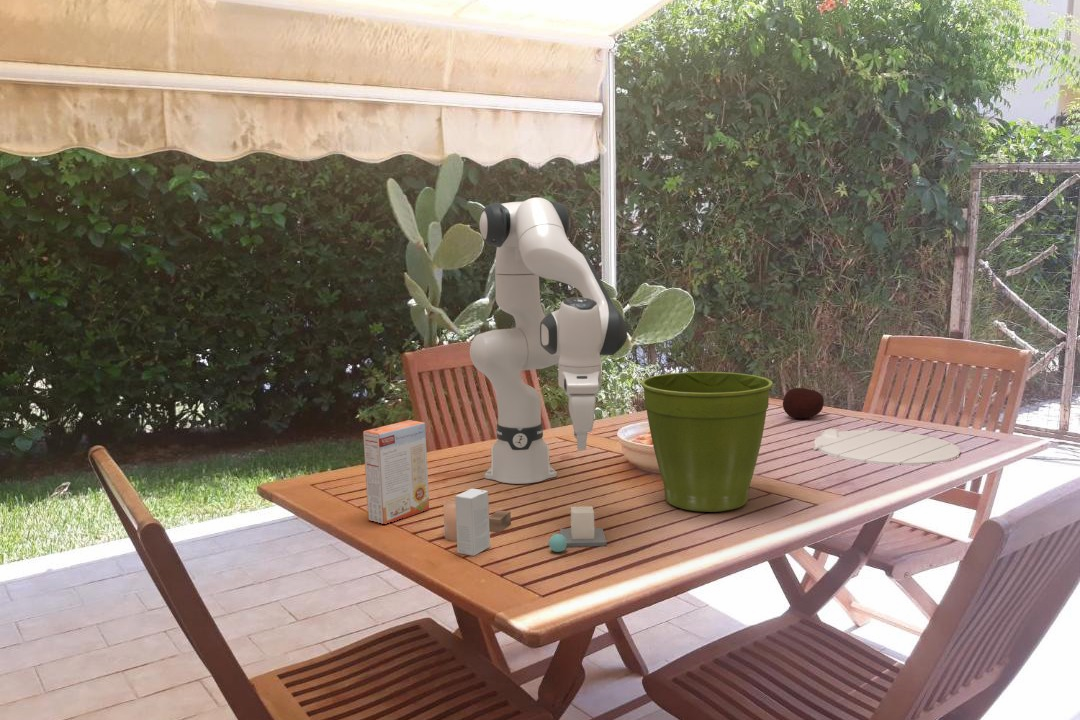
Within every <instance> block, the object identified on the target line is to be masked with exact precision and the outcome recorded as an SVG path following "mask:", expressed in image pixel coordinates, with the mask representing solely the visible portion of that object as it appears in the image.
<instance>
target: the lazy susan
mask: <svg viewBox="0 0 1080 720" xmlns="http://www.w3.org/2000/svg"><path fill="white" fill-rule="evenodd" d="M813 450H818V451H819V452H821V453H823V454H825V455H829V456H831V457H834V458H838V459H841V458H842V460H846V461H851V460H853V461H852V462H857V461H858V462H859V463H863V462H865V464H871V463H876V464H875V465H882V464H895V465H894V466H901V465H914V466H921V465H920V464H931V465H933V464H932V463H939V462H944V461H948V460H951V459H954V458H956V457H957V456H959V454H960V455H961V450H960V448H959V447H958V446H957V445H955V444H954V443H951V442H950V441H947V440H944V439H941V438H937V437H934V436H929V435H923V434H917V433H911V432H903V431H892V430H878V429H877V430H876V429H874V427H873V428H872V427H870V428H867V429H864V430H862V429H860V430H844V431H843V430H842V431H839V430H838V429H837V428H828V429H825V430H824V431H822V432H821V434H820V435H819V436H817V437H816V438H815V439H814V442H813ZM959 457H960V456H959ZM956 459H957V458H956ZM954 460H955V459H954ZM858 462H857V463H858ZM900 464H901V465H900ZM939 464H940V463H939Z"/></svg>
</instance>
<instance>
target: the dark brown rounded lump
mask: <svg viewBox="0 0 1080 720" xmlns="http://www.w3.org/2000/svg"><path fill="white" fill-rule="evenodd" d="M824 402H825V400H824V397H823V395H822V394H821V392H818V391H817V390H813V389H809V388H805V387H804V388H803V387H794V388H792V389H791V388H790V389H789V390H788V391H787V392H786V393H785V395H784V397H783V399H782V408H783V410H784V412H785V414H787V416H789V417H790V418H791V417H792V418H794V419H796V420H797V419H799V420H800V419H801V420H802V419H803V420H804V419H808V418H809V419H810V418H812V417H815V416H817V415H818V414H820V413H821V412H822V410H823V408H824V404H825V403H824Z"/></svg>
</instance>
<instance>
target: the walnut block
mask: <svg viewBox="0 0 1080 720" xmlns="http://www.w3.org/2000/svg"><path fill="white" fill-rule="evenodd" d="M511 516H512V515H511V511H509V510H508V511H507V510H498V509H497V510H496V511H495V512H494V513H493V514H491V515H489V528H490V533H491V532H492V533H502V532H503V531H504V530H505V529H506V528H508V527H509V526H510V525H511V524H512V520H511V519H512V518H511Z"/></svg>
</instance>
